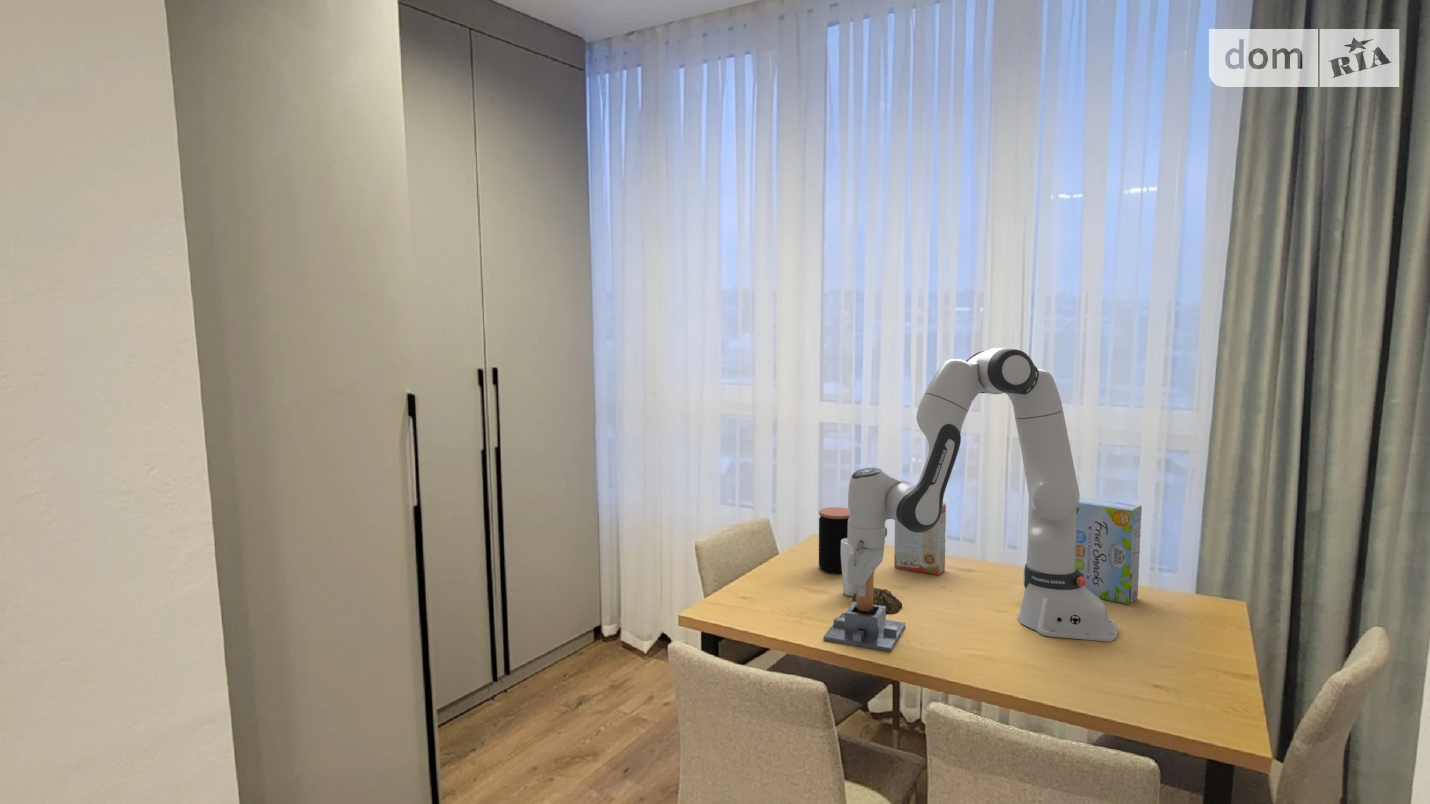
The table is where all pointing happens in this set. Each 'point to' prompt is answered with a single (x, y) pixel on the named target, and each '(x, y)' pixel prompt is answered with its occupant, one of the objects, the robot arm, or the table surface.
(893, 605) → the bread roll
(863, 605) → the rounded pin
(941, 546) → the cracker box
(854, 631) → the hollow box on baseplate
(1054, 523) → the robot arm
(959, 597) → the table surface
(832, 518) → the coffee jar
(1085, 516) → the snack box
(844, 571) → the drinking glass
